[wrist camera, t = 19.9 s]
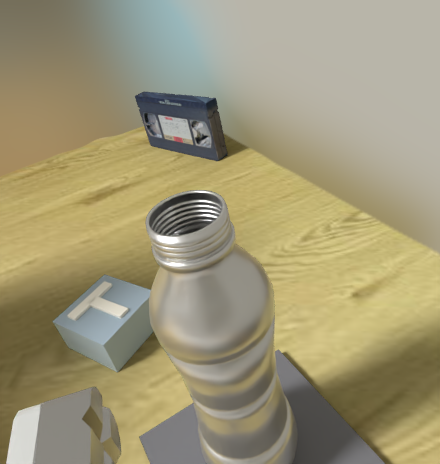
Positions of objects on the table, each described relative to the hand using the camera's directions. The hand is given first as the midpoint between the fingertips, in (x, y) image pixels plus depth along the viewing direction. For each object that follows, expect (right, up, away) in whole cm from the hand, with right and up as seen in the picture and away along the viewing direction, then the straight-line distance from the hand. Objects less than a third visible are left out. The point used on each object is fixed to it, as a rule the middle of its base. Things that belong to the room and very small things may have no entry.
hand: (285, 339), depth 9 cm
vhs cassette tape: (-7, +17, +67) cm, 69 cm away
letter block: (-12, -8, +33) cm, 36 cm away
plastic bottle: (+1, -13, +20) cm, 24 cm away
